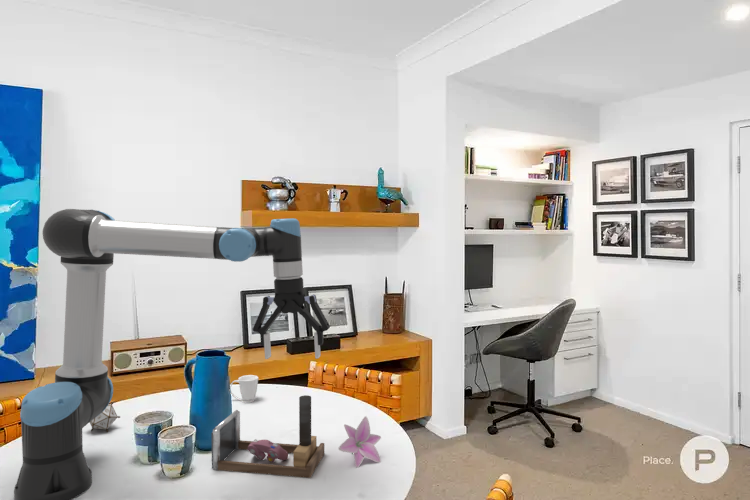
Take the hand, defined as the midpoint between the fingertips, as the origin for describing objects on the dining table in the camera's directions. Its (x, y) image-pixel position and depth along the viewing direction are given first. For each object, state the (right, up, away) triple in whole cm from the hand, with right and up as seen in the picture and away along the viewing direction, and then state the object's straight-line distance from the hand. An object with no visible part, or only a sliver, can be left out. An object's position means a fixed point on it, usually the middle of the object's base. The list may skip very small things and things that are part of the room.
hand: (292, 357), depth 135 cm
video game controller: (-6, -27, -2) cm, 27 cm away
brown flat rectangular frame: (-5, -26, -3) cm, 27 cm away
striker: (+4, -26, -4) cm, 27 cm away
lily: (+18, -27, -2) cm, 32 cm away
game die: (-59, -25, +17) cm, 67 cm away
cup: (-24, -24, +43) cm, 54 cm away
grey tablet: (-18, -26, -1) cm, 32 cm away
